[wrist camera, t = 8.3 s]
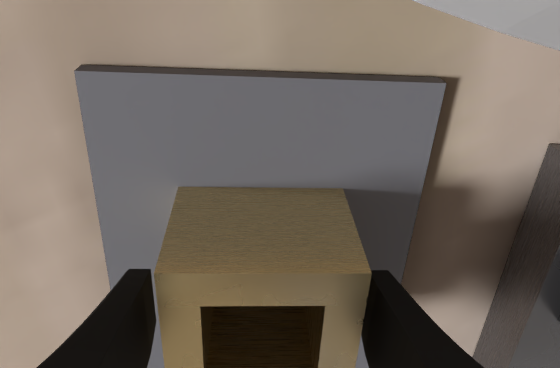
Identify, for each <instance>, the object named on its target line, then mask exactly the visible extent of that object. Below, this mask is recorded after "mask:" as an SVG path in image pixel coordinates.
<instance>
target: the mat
mask: <svg viewBox="0 0 560 368" xmlns="http://www.w3.org/2000/svg"><path fill="white" fill-rule="evenodd" d="M74 72H75V78H76V84H77V90H78V96H79V102H80V109H81V115H82V121H83V127H84V133H85V139H86V145H87V151H88V157H89V163H90V169H91V175H92V181H93V187H94V193H95V199H96V205H97V211H98V217H99V223H100V229H101V235H102V241H103V247H104V253H105V259H106V265H107V271H108V277H109V283H110V289H111V290H112V289H113V287H114V286H115V285H116V284H117V282H118V281H119V280H120V279H121V277H122V276H123V275H124V273H125V272H126V271H127V270H128V269H151V276H152V285H153V294H154V304H155V313H156V327H155V333H154V339H153V345H152V350H151V355H150V359H149V362H148V366H147V368H165V367H164V359H163V350H162V341H161V332H160V323H159V315H158V306H157V297H156V288H155V279H154V271H155V268H156V264H157V261H158V257H159V253H160V250H161V246H162V243H163V239H164V236H165V232H166V229H167V225H168V222H169V218H170V214H171V211H172V207H173V204H174V200H175V197H176V193H177V190H178V187H259V188H343V190H344V193H345V196H346V199H347V202H348V205H349V208H350V211H351V214H352V217H353V220H354V223H355V226H356V229H357V231H358V234H359V237H360V240H361V243H362V246H363V249H364V252H365V255H366V258H367V261H368V264H369V267H370V270H388V271H389V272H390V273H391V274H392V275H393V276H394V277H395V278H396V280H397V281H398V282H399V283H400V284H401V281H402V277H403V273H404V268H405V264H406V259H407V255H408V251H409V246H410V242H411V237H412V233H413V228H414V224H415V220H416V215H417V211H418V206H419V202H420V198H421V193H422V189H423V184H424V180H425V176H426V171H427V167H428V162H429V158H430V154H431V149H432V145H433V140H434V136H435V131H436V127H437V123H438V118H439V114H440V109H441V105H442V101H443V96H444V92H445V87H446V83H445V82H444V81H443V80H442V79H441V78H439V77H422V76H393V75H364V74H335V73H306V72H277V71H248V70H219V69H190V68H161V67H132V66H103V65H81V66H79V67H78V68H77V69H76V70H75V71H74ZM355 368H369V366H368V363H367V360H366V356H365V353H364V347H363V342H362V336H361V338H360V343H359V349H358V355H357V360H356V366H355Z"/></svg>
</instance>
